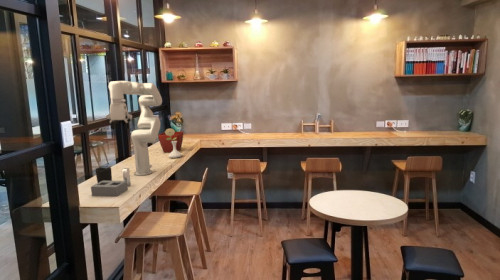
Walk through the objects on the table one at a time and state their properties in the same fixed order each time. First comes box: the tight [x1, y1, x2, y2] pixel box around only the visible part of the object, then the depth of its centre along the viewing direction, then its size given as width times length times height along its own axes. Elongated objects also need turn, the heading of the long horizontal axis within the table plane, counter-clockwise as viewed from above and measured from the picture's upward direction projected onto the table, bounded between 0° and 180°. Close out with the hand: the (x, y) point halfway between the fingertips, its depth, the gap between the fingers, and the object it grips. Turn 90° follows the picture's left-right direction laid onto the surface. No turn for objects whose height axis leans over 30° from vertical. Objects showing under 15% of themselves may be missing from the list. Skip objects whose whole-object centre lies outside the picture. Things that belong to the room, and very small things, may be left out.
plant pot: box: [157, 131, 184, 153], centre depth 313 cm, size 19×19×17 cm
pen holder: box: [94, 166, 113, 184], centre depth 221 cm, size 9×9×10 cm
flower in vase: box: [164, 128, 183, 159], centre depth 287 cm, size 13×11×25 cm
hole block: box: [90, 180, 129, 197], centre depth 202 cm, size 12×16×6 cm
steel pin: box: [121, 167, 132, 188], centre depth 214 cm, size 4×4×11 cm
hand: (120, 129), depth 212 cm, fingers open, 9 cm apart
